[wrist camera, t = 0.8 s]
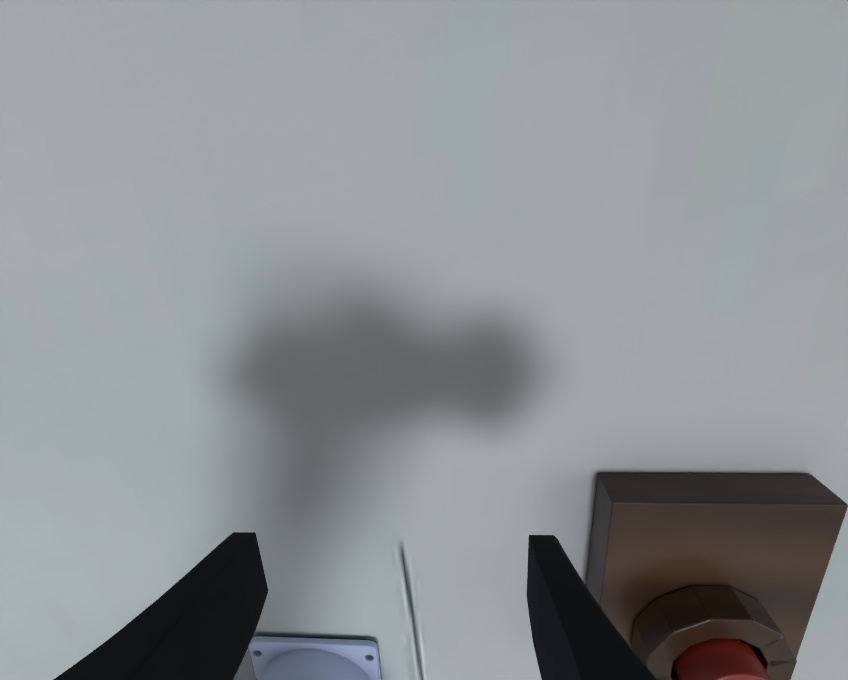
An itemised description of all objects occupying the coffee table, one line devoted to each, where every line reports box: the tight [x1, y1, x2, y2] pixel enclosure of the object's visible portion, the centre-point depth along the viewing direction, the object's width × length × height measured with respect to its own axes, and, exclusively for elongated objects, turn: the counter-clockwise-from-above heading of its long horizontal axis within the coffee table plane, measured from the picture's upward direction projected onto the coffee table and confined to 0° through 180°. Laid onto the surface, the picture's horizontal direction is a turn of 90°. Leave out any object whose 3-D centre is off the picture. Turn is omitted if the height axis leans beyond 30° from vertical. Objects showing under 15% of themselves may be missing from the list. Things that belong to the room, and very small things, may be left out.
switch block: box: [586, 473, 848, 680], centre depth 22 cm, size 12×10×4 cm
